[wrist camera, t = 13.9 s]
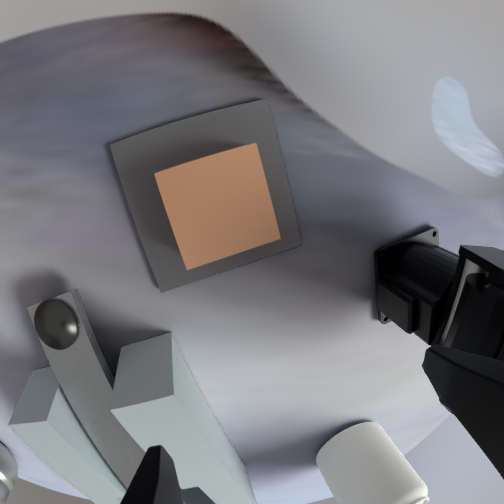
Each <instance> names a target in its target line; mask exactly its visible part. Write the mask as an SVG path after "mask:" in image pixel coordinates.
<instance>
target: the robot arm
mask: <svg viewBox="0 0 504 504" xmlns="http://www.w3.org/2000/svg"><path fill="white" fill-rule="evenodd" d="M381 254H382V256H381V257H380V255H381ZM458 254H459V255H457V254H454V253H452V252H450V251H448V250H445V249H443V248H441V247H439V235H438V229H437V228H435V227H429V228H427V229H425V230H422V231H420V232H418V233H415V234H413V235H410V236H408V237H405V238H403V239H401V240H398V241H396V242H393V243H391V244H388V245H386V246H383V247H381V248H379V249H377V250H376V251H375V254H374V261H375V272H376V281H375V285H376V300H377V309H378V319H379V321H380V322H381V323H382V324H386V323H388V322H390V321H393V322H394V323H395V324H397V325H398V326H399V327H400V328H402V329H403V330H404V331H405V332H406V333H408V334H411V333H415V334H416V335H417V336H418V337H419V338H421V339H422V340H423V341H424V342H426V343H427V344H428V345H431V347H429V348H428V349H427V350H426V352H425V358H424V361H423V364H422V367H423V369H424V372H425V373H426V375H427V376H428V378H429V380H430V382H431V383H432V385H433V387H434V389H435V391H436V393H437V395H438V397H439V401H440V403H441V404H442V405H443V406H444V407H445V408H446V409H447V410H448V411H450V412H451V413H453V414H454V415H455V416H456V417H457V419H458V420H459V421H460V422H461V423H462V425H463V426H464V427H465V429H466V430H467V431H468V433H469V434H470V435H471V436H472V438H473V439H474V440H475V442H476V443H477V444H478V445H479V447H480V448H481V449H482V450H483V452H484V453H485V454H486V456H487V457H488V458H489V460H490V461H491V463H492V464H493V465H494V467H495V468H496V469H497V471H498V472H499V473H500V475H501V476H502V478H503V479H504V251H502V250H500V249H497V248H493V247H482V246H469V245H460V249H459V253H458ZM120 504H184V503H183V498H182V494H181V490H180V486H179V482H178V478H177V473H176V469H175V465H174V461H173V459H172V457H171V456H170V455H169V453H168V452H167V451H166V450H165V448H164V447H163V446H162V445H156V446H150V447H149V448H148V449H147V451H146V453H145V455H144V457H143V459H142V461H141V463H140V465H139V467H138V469H137V471H136V473H135V475H134V477H133V479H132V481H131V483H130V485H129V487H128V489H127V491H126V493H125V495H124V497H123V498H122V500H121V502H120Z"/></svg>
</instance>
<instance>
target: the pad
mask: <svg viewBox="0 0 504 504" xmlns="http://www.w3.org/2000/svg"><path fill="white" fill-rule="evenodd" d="M252 143H256V144H257V147H258V151H259V155H260V159H261V162H262V166H263V170H264V174H265V178H266V182H267V186H268V189H269V193H270V197H271V201H272V205H273V209H274V213H275V217H276V221H277V225H278V229H279V233H280V238H281V239H279V240H276V241H273V242H270V243H267V244H264V245H261V246H258V247H255V248H252V249H249V250H246V251H243V252H240V253H237V254H234V255H231V256H228V257H225V258H222V259H219V260H216V261H213V262H210V263H207V264H204V265H201V266H198V267H195V268H192V269H190V270H187V269H186V266H185V264H184V261H183V258H182V255H181V253H180V250H179V247H178V244H177V241H176V238H175V236H174V233H173V230H172V227H171V224H170V221H169V218H168V215H167V212H166V209H165V206H164V203H163V200H162V197H161V194H160V191H159V187H158V184H157V181H156V178H155V175H154V173H156V172H157V171H160V170H163V169H166V168H169V167H172V166H175V165H178V164H181V163H184V162H187V161H190V160H194V159H197V158H200V157H203V156H207V155H210V154H214V153H217V152H220V151H224V150H227V149H231V148H235V147H238V146H242V145H246V144H252ZM110 148H111V152H112V155H113V158H114V162H115V165H116V169H117V172H118V175H119V178H120V181H121V185H122V188H123V191H124V194H125V197H126V200H127V203H128V206H129V209H130V212H131V215H132V218H133V221H134V223H135V226H136V229H137V232H138V235H139V237H140V240H141V243H142V245H143V248H144V251H145V253H146V256H147V259H148V261H149V264H150V266H151V269H152V271H153V274H154V276H155V279H156V281H157V284H158V286H159V289H160V291H161V292H164V291H167V290H170V289H173V288H176V287H179V286H182V285H185V284H188V283H191V282H194V281H197V280H200V279H203V278H206V277H209V276H212V275H215V274H218V273H221V272H224V271H227V270H230V269H233V268H236V267H239V266H242V265H245V264H248V263H251V262H254V261H257V260H260V259H262V258H265V257H268V256H271V255H274V254H277V253H280V252H283V251H286V250H289V249H292V248H295V247H298V246H301V245H302V241H301V236H300V231H299V227H298V222H297V218H296V213H295V209H294V204H293V200H292V196H291V191H290V187H289V183H288V178H287V174H286V170H285V166H284V162H283V158H282V154H281V150H280V146H279V142H278V138H277V134H276V130H275V126H274V123H273V119H272V115H271V111H270V108H269V104H268V100H267V99H264V100H259V101H254V102H249V103H245V104H240V105H236V106H232V107H227V108H223V109H219V110H215V111H211V112H208V113H204V114H200V115H197V116H193V117H190V118H186V119H183V120H179V121H176V122H173V123H170V124H166V125H163V126H160V127H157V128H154V129H151V130H148V131H145V132H142V133H139V134H137V135H134V136H131V137H128V138H126V139H123V140H120V141H118V142H115V143H112V144H110Z"/></svg>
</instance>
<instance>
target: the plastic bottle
mask: <svg viewBox="0 0 504 504" xmlns="http://www.w3.org/2000/svg"><path fill="white" fill-rule="evenodd" d="M17 478H18V465H17V462H16V459H15V457H14V456H13V454H12V453H11V452H10V451H9V450H8V449H7V448H6V447H5V446H4V445H2V444H1V443H0V504H6V502H7V500H8V497H9V494H10V492H11V491H12V489H13V488H14V485H15V483H16V481H17Z"/></svg>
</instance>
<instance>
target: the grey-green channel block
mask: <svg viewBox="0 0 504 504" xmlns="http://www.w3.org/2000/svg"><path fill="white" fill-rule="evenodd" d="M110 411H111V412H112V413H113V415H114V416H115V417H116V419H117V420H118V421H119V422H120V423H121V425H122V426H123V427H124V428H125V430H126V431H127V432H128V433H129V434H130V435H131V437H132V438H133V439H134V440H135V441H136V442H137V443H138V445H139V446H140V447H141V448H142V449H143V450H144V451H145V452H146V451H147V449H148V448H149V447H150V446H156V445H162V446H163V447H164V448H165V450H166V451H167V452H168V453H169V455H170V456H171V457H172V459H173V461H174V465H175V469H176V473H177V478H178V482H179V486H180V488H181V490H182V491H183V492H184V494H185V495H186V496H187V498H188V499H189V500H190V502H191V503H192V504H257V502H256V499H255V496H254V493H253V490H252V486H251V483H250V480H249V477H248V474H247V470H246V467H245V465H244V463H243V462H242V460H241V459H240V457H239V455H238V454H237V452H236V451H235V449H234V447H233V446H232V444H231V442H230V441H229V439H228V438H227V436H226V434H225V432H224V431H223V429H222V427H221V426H220V424H219V422H218V420H217V419H216V417H215V415H214V413H213V412H212V410H211V408H210V406H209V405H208V403H207V401H206V399H205V397H204V395H203V394H202V392H201V390H200V388H199V386H198V384H197V382H196V380H195V378H194V377H193V375H192V373H191V371H190V369H189V367H188V365H187V363H186V361H185V359H184V357H183V355H182V353H181V351H180V349H179V347H178V344H177V342H176V340H175V338H174V336H173V334H172V332H169V333H166V334H163V335H160V336H156V337H153V338H150V339H146V340H143V341H140V342H136V343H133V344H130V345H126V346H123V347H121V352H120V356H119V361H118V366H117V372H116V377H115V382H114V388H113V394H112V400H111V406H110ZM8 425H9V427H10V428H11V429H12V430H13V431H14V432H15V433H16V434H17V435H18V436H19V437H20V439H21V440H22V441H23V442H24V443H25V444H26V445H27V446H28V447H29V448H30V449H31V450H32V451H33V452H34V453H35V454H36V455H37V456H38V457H39V458H41V459H42V460H43V461H44V462H45V463H46V464H47V465H48V466H49V467H50V468H51V469H53V470H54V471H55V472H56V473H57V474H58V475H60V476H61V477H62V478H63V479H64V480H65V481H67V482H68V483H69V484H70V485H72V486H73V487H74V488H75V489H77V490H78V491H79V492H81V493H82V494H83V495H84V496H86V497H87V498H89V499H90V500H91V501H93V502H94V503H96V504H120V502H121V500H122V498H123V497H124V495H125V493H126V491H127V488H126V487H125V485H124V484H123V483H122V482H121V480H120V479H119V478H118V476H117V475H116V474H115V472H114V471H113V470H112V468H111V467H110V466H109V464H108V463H107V461H106V460H105V459H104V457H103V456H102V454H101V453H100V451H99V450H98V448H97V447H96V446H95V444H94V442H93V441H92V439H91V438H90V436H89V435H88V433H87V432H86V430H85V428H84V427H83V425H82V423H81V422H80V420H79V418H78V417H77V415H76V413H75V412H74V410H73V408H72V406H71V404H70V403H69V401H68V399H67V397H66V395H65V393H64V392H63V390H62V388H61V386H60V384H59V382H58V380H57V378H56V376H55V374H54V372H53V370H52V367H51V366H49V367H45V368H41V369H37V370H33V371H32V373H31V375H30V377H29V379H28V381H27V383H26V386H25V388H24V390H23V392H22V394H21V396H20V398H19V401H18V403H17V405H16V407H15V410H14V412H13V414H12V417H11V419H10V421H9V424H8Z"/></svg>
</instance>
